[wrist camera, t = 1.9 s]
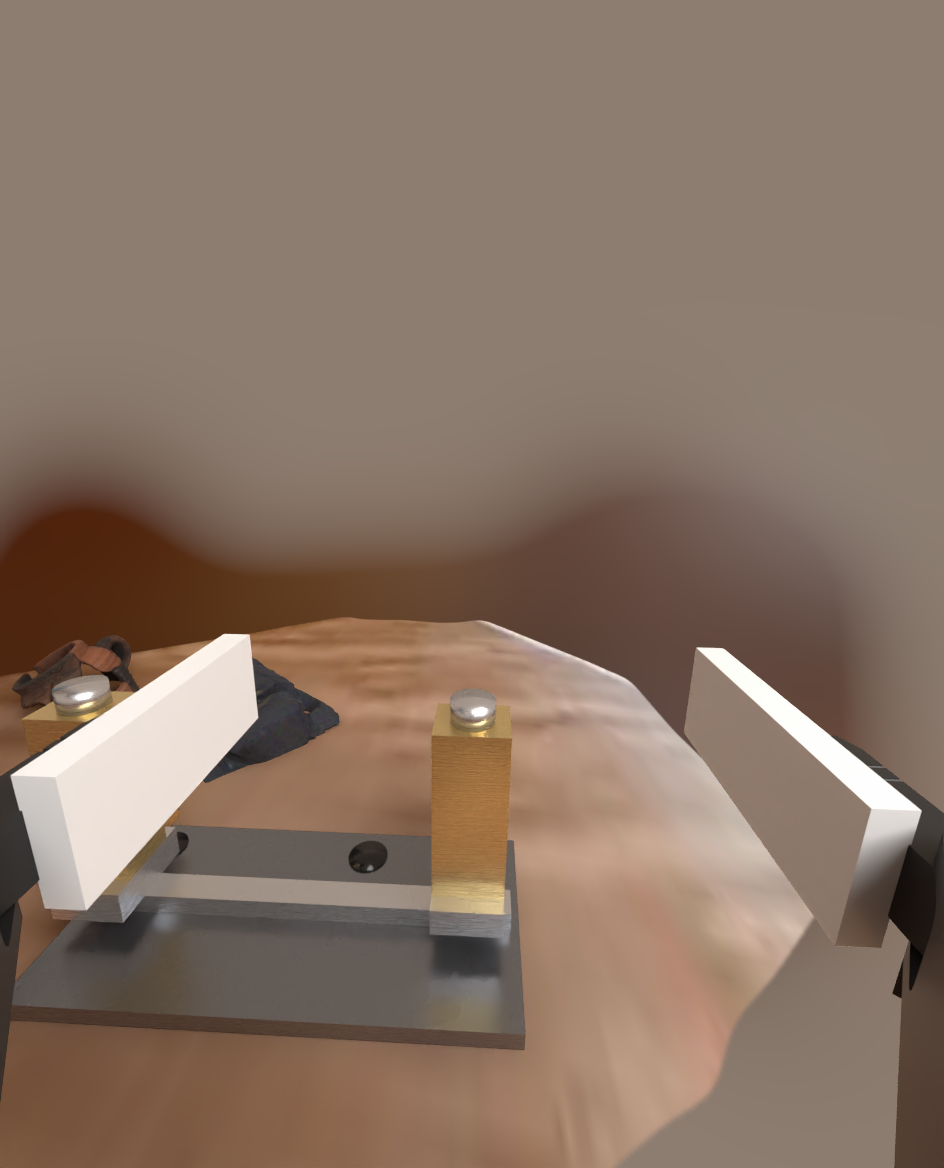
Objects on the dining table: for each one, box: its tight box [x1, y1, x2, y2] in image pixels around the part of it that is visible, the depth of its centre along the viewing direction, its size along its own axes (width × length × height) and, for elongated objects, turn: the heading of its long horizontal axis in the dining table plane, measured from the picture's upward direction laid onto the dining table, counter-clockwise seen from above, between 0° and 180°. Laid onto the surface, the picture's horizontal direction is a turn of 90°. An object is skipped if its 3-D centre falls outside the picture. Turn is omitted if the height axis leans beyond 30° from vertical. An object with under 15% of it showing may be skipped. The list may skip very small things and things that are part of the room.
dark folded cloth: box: [203, 658, 339, 783], centre depth 52 cm, size 15×22×5 cm
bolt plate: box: [10, 675, 525, 1050], centre depth 27 cm, size 26×12×15 cm, turn 88°
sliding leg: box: [430, 689, 512, 938], centre depth 28 cm, size 4×7×14 cm, turn 178°
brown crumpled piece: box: [12, 636, 139, 709], centre depth 54 cm, size 12×9×8 cm
